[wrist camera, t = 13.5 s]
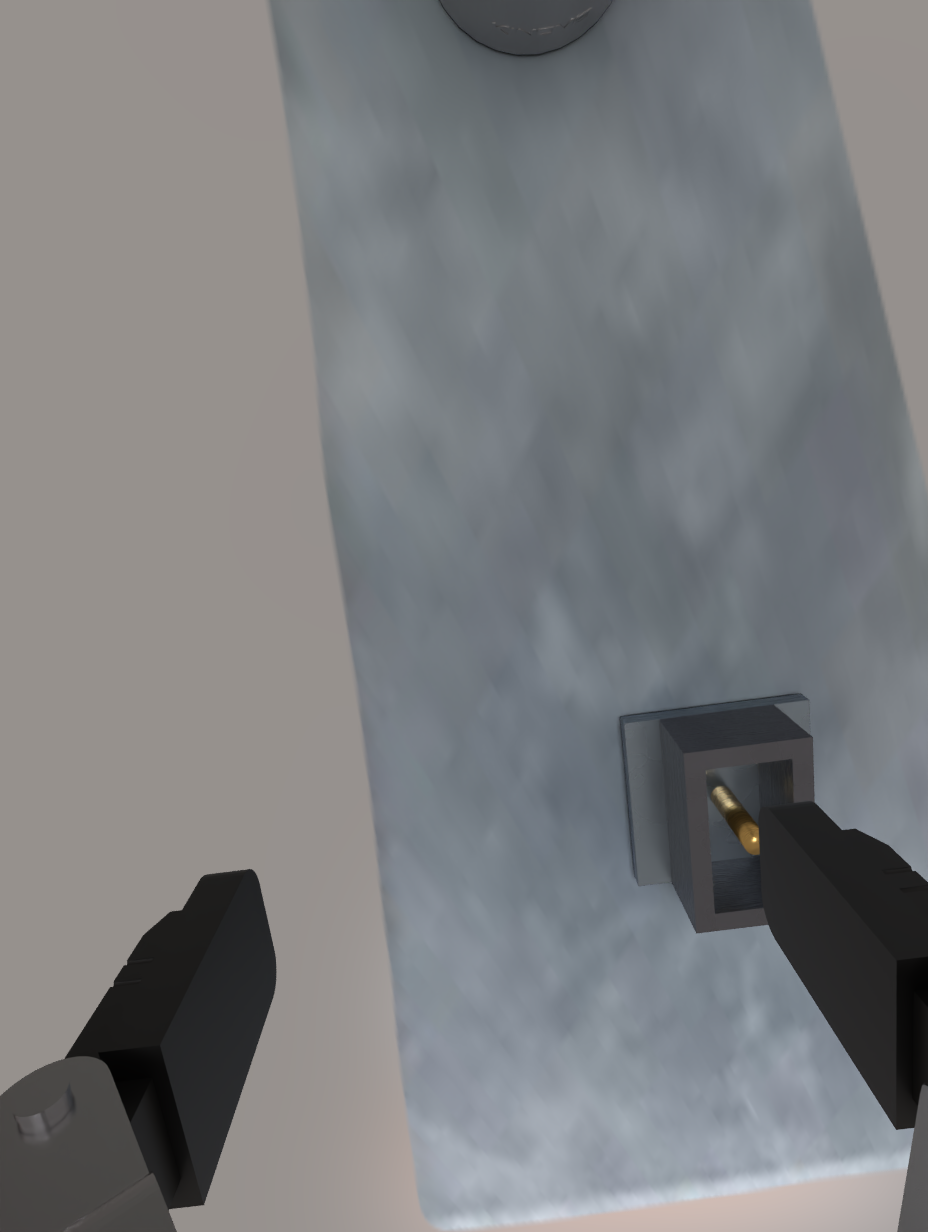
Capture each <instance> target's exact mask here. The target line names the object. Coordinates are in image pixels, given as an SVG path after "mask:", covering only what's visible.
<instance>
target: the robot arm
mask: <svg viewBox="0 0 928 1232" xmlns="http://www.w3.org/2000/svg"><path fill="white" fill-rule="evenodd" d="M440 2H441V4H442V5H443V7H444V9H445V10H446V11H447V13H448V14H449V15H450V16H451V18H452V19H453V20H454V21H455V22H456V24H457V25H458V26H459V27H460V28H461V29H463V30H464V31H465V32H466V33H468V34H469V35H470V36H471V37H473V38H474V39H475V40H476V41H478V42H480V43H482V44H484V45H487V46H489V47H491V48H493V49H495V50H498V51H502V52H507V53H512V54H516V55H523V54H540V53H544V52H548V51H551V50H555V49H559V48H561V47H563V46H564V45H566V44H568V43H570V42H572V41H574V40H575V39H577V38H579V37H580V36H581V35H582V34H584V33H585V32H586V31H587V30H588V29H589V28H590V27H592V26H593V25H594V24H595V23H596V22H597V21H598V19H599V18H600V17H601V16H602V14H603V13H604V12H605V10H606V9H607V8H608V6H609V5H610V4H611V2H612V0H440ZM758 826H759V848H760V870H761V892H762V901H763V907H764V911H765V915H766V919H767V922H768V925H769V927H770V930H771V932H772V934H773V936H774V938H775V940H776V941H777V943H778V944H779V946H780V948H781V949H782V951H783V952H784V954H785V955H786V957H787V959H788V960H789V962H790V963H791V965H792V966H793V968H794V970H795V971H796V973H797V974H798V976H799V977H800V979H801V981H802V982H803V984H804V985H805V987H806V989H807V990H808V992H809V993H810V995H811V996H812V998H813V1000H814V1001H815V1003H816V1004H817V1006H818V1007H819V1009H820V1011H821V1012H822V1014H823V1015H824V1017H825V1018H826V1020H827V1022H828V1023H829V1025H830V1026H831V1028H832V1029H833V1031H834V1033H835V1034H836V1036H837V1037H838V1039H839V1040H840V1042H841V1044H842V1045H843V1047H844V1048H845V1050H846V1052H847V1053H848V1055H849V1056H850V1058H851V1059H852V1061H853V1063H854V1064H855V1066H856V1067H857V1069H858V1070H859V1072H860V1074H861V1075H862V1077H863V1078H864V1080H865V1081H866V1083H867V1085H868V1086H869V1088H870V1089H871V1091H872V1092H873V1094H874V1096H875V1097H876V1099H877V1100H878V1102H879V1103H880V1105H881V1107H882V1108H883V1110H884V1111H885V1113H886V1114H887V1116H888V1118H889V1119H890V1121H891V1122H892V1124H893V1126H894V1127H895V1129H896V1130H898V1129H907V1128H914V1134H913V1140H912V1146H911V1152H910V1158H909V1164H908V1170H907V1177H906V1183H905V1189H904V1195H903V1201H902V1207H901V1214H900V1219H899V1226H898V1231H897V1232H928V882H927V881H926V880H925V879H924V878H923V877H921V876H920V875H919V874H918V873H917V872H916V871H912V869H911V866H910V865H909V864H908V863H907V862H906V861H904V860H903V859H902V858H901V857H900V856H899V855H898V854H897V853H896V852H895V851H894V850H893V849H892V848H891V847H890V846H889V845H887V844H885V843H883V842H881V841H879V840H877V839H875V838H873V837H871V836H869V835H867V834H865V833H863V832H861V831H859V830H857V829H849V830H841V829H840V828H839V827H838V826H837V825H836V824H835V823H834V822H833V821H832V820H831V819H830V818H829V817H828V816H827V815H826V814H825V813H824V811H823V810H822V809H821V808H820V807H819V806H818V805H817V804H815V803H814V802H812V801H805V802H797V803H789V804H781V805H773V806H765V807H762V808H761V809H760V812H759V818H758ZM275 985H276V957H275V951H274V947H273V942H272V938H271V933H270V929H269V924H268V920H267V915H266V911H265V906H264V902H263V897H262V893H261V888H260V884H259V880H258V878H257V875H256V873H255V872H254V871H253V870H252V869H248V870H240V871H232V872H224V873H216V874H208V875H204V876H203V877H202V878H201V879H200V881H199V882H198V884H197V886H196V887H195V889H194V891H193V893H192V894H191V896H190V898H189V899H188V901H187V903H186V904H185V906H184V908H183V910H181V911H172V912H170V913H168V914H167V915H166V916H165V917H164V918H163V919H161V920H160V921H159V922H158V923H157V924H156V925H154V926H153V927H152V928H151V929H150V930H149V931H148V932H147V933H145V934H144V935H143V937H142V938H141V940H140V941H139V943H138V944H137V946H136V948H135V949H134V951H133V952H132V954H131V955H130V957H129V958H128V960H127V965H125V966H123V968H122V969H121V971H120V973H119V974H118V976H117V977H116V979H115V980H114V986H113V987H110V988H109V990H108V991H107V993H106V994H105V996H104V998H103V999H102V1001H101V1002H100V1004H99V1005H98V1007H97V1009H96V1010H95V1012H94V1013H93V1015H92V1016H91V1018H90V1020H89V1021H88V1023H87V1024H86V1026H85V1027H84V1029H83V1030H82V1032H81V1034H80V1035H79V1037H78V1038H77V1040H76V1042H75V1043H74V1045H73V1046H72V1048H71V1049H70V1051H69V1052H68V1054H67V1056H66V1057H65V1059H63V1060H59V1061H56V1062H53V1063H51V1064H48V1065H46V1066H44V1067H42V1068H39V1069H37V1070H35V1071H34V1072H32V1073H30V1074H29V1075H27V1076H25V1077H24V1078H22V1079H21V1080H20V1081H18V1082H17V1083H15V1084H14V1085H12V1086H11V1087H10V1088H9V1089H8V1090H6V1091H5V1092H4V1093H3V1094H2V1095H1V1096H0V1232H177V1231H176V1229H175V1226H174V1224H173V1221H172V1218H171V1216H170V1213H169V1209H173V1208H182V1207H191V1206H199V1205H204V1203H205V1200H206V1197H207V1194H208V1191H209V1188H210V1185H211V1182H212V1179H213V1176H214V1173H215V1170H216V1167H217V1164H218V1161H219V1158H220V1155H221V1152H222V1149H223V1146H224V1143H225V1140H226V1137H227V1134H228V1131H229V1128H230V1125H231V1122H232V1119H233V1116H234V1113H235V1110H236V1107H237V1104H238V1101H239V1098H240V1095H241V1092H242V1089H243V1086H244V1083H245V1080H246V1077H247V1074H248V1071H249V1068H250V1065H251V1062H252V1059H253V1056H254V1053H255V1050H256V1047H257V1044H258V1041H259V1038H260V1035H261V1032H262V1029H263V1026H264V1023H265V1020H266V1017H267V1014H268V1011H269V1008H270V1005H271V1002H272V999H273V995H274V991H275Z"/></svg>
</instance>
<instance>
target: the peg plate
mask: <svg viewBox="0 0 928 1232" xmlns="http://www.w3.org/2000/svg"><path fill="white" fill-rule="evenodd" d="M773 704H774V705H775V706H776V707H777V708H778V709H780V710H781V711H782V712H783V713H784V714H786V715H787V716H788V717H789V718H790V719H792V720H793V721H794V722H795V723H796V724H798V725H799V726H800V727H801V728H802V729H804V730H805V731H806V732H807V733H808V734H810V706H809V699H807V698H806V697H805V696H803V695H802V694H796V695H788V696H780V697H772V698H764V699H756V700H749V701H741V702H733V703H725V704H717V705H709V706H702V707H694V708H686V709H678V710H670V711H663V712H655V713H647V714H639V715H631V716H623V717H620V720H621V731H622V742H623V753H624V764H625V776H626V787H627V798H628V809H629V820H630V831H631V842H632V853H633V864H634V875H635V879H636V881H637V883H638V886H645V885H653V884H661V883H669V882H672V879H671V866H670V853H669V841H668V828H667V816H666V803H665V790H664V778H663V765H662V752H661V740H660V727H659V719H665V718H673V717H681V716H688V715H696V714H704V713H711V712H719V711H727V710H735V709H742V708H750V707H758V706H766V705H773ZM706 785H707V801H708V816H709V831H710V847H711V862H713V861H721V860H729V859H737V858H745V857H753V856H760V848H759V826H758V818H759V812H760V801H759V779H758V763H756V764H749V765H741V766H733V767H725V768H717V769H709V770H706Z"/></svg>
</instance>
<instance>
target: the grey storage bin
mask: <svg viewBox="0 0 928 1232" xmlns="http://www.w3.org/2000/svg"><path fill="white" fill-rule="evenodd" d="M659 727H660V740H661V752H662V765H663V778H664V790H665V803H666V816H667V828H668V841H669V853H670V866H671V879H672V884H673V886H674V888H675V890H676V892H677V894H678V896H679V898H680V900H681V902H682V904H683V907H684V909H685V911H686V913H687V915H688V917H689V919H690V921H691V923H692V925H693V927H694V929H695V931H696V933H703V932H712V931H720V930H728V929H736V928H744V927H753V926H761V925H768V922H767V919H766V915H765V911H764V907H763V901H762V892H761V870H760V856H753V857H745V858H737V859H729V860H721V861H713V862H711V847H710V831H709V816H708V801H707V785H706V770H709V769H717V768H725V767H733V766H741V765H749V764H756V763H758V779H759V801H760V809H761V808H762V807H765V806H773V805H781V804H789V803H797V802H805V801H812V802H814V767H813V737H812V736H811V735H810V734H808V733H807V732H806V731H805V730H804V729H802V728H801V727H800V726H799V725H798V724H796V723H795V722H794V721H793V720H792V719H790V718H789V717H788V716H787V715H786V714H784V713H783V712H782V711H781V710H780V709H778V708H777V707H776V706H775V705H774V704H773V705H766V706H758V707H750V708H742V709H735V710H727V711H719V712H711V713H704V714H696V715H688V716H681V717H673V718H665V719H659Z"/></svg>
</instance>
